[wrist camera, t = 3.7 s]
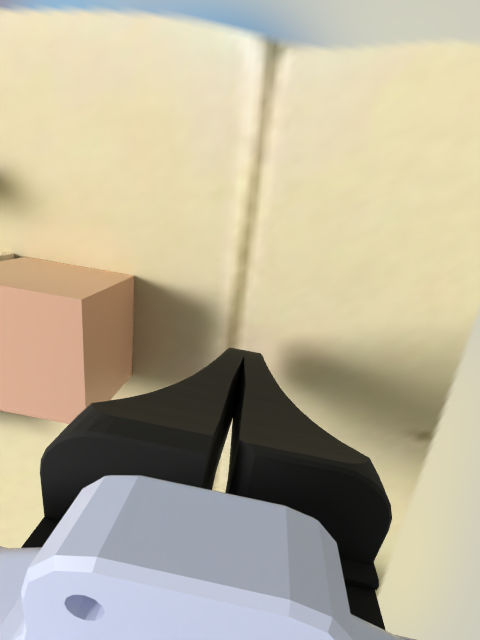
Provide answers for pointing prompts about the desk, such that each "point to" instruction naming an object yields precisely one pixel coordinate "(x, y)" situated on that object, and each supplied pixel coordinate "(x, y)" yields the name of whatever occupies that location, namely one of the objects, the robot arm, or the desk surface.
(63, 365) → the pink cube-like block
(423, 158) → the desk surface
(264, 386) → the robot arm
